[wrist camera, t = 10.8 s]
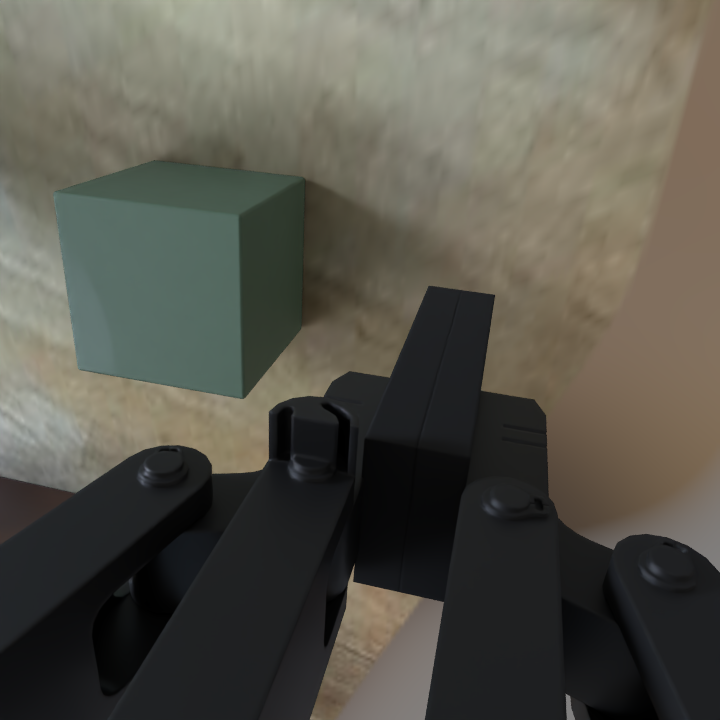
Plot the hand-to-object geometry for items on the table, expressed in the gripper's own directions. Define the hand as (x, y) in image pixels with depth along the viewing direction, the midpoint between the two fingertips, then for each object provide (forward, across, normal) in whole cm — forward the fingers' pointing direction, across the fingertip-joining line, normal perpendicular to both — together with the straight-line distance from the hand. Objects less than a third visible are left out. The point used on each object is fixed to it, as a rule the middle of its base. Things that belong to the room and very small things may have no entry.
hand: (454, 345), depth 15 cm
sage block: (+5, -8, 0) cm, 9 cm away
